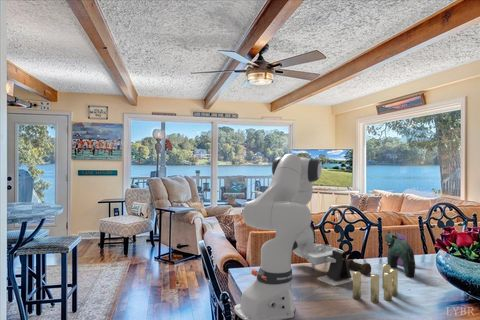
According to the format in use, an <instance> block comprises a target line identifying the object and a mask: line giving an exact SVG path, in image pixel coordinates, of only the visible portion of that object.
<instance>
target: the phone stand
mask: <svg viewBox="0 0 480 320" xmlns="http://www.w3.org/2000/svg"><path fill="white" fill-rule="evenodd" d="M340 250H341V249H340ZM340 250H337V249H336V250H335V249H333V251H332V258H334V259H336V263H331V262H329V267H328V270H327V274H326V275H327V276H328V277H330V278H332V279H334V280H336V281H338V280H343V279H348V278H351V276H352V274H351V269H349V266H348V263H347V260H348V259H347V253H346V252H345V251H344V250H343V251H344V252H343V251H340Z"/></svg>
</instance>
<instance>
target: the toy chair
mask: <svg viewBox="0 0 480 320" xmlns="http://www.w3.org/2000/svg"><path fill="white" fill-rule="evenodd" d="M396 234H397V235H398V237H399V239H405V240H406V241H407V242H408V237H407V236H406V235H404V234H401V233H396ZM397 266H404V265H403V261H402V260H401V258H399V259H398V262H397Z"/></svg>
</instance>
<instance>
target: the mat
mask: <svg viewBox="0 0 480 320" xmlns="http://www.w3.org/2000/svg"><path fill="white" fill-rule="evenodd" d="M316 280H319V281H321V282H323V283H325V284H328V285H329V286H332V287H335V286H339V285H343V284H348V283H350V282H353V275H351V278H348V279H343V280H338V281H336V280H334V279H332V278H330V277H328V276H327V274H326V275H322V276H318V277H316Z"/></svg>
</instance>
